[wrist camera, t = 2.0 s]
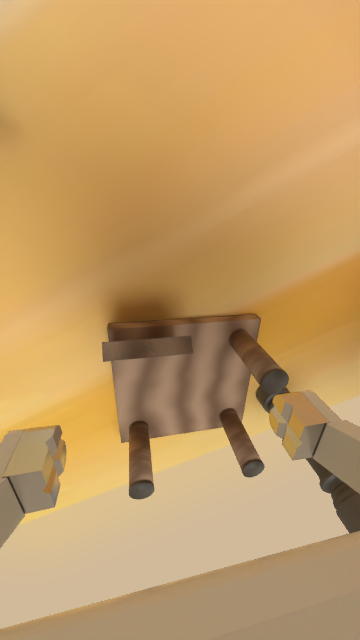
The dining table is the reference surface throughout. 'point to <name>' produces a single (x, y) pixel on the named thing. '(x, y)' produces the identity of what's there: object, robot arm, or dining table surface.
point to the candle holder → (327, 478)
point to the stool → (190, 387)
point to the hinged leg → (146, 348)
